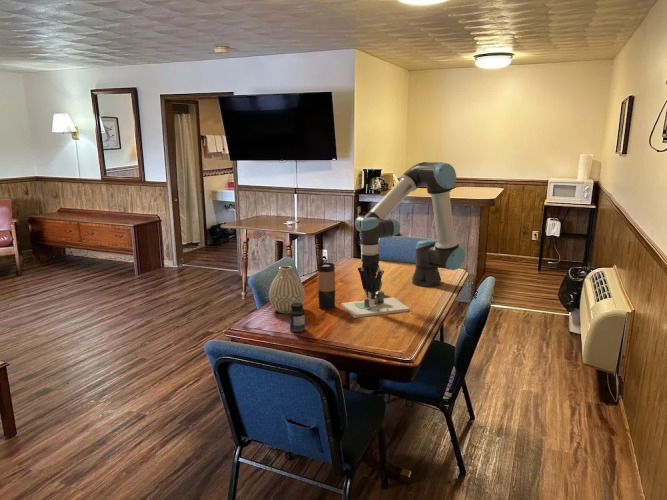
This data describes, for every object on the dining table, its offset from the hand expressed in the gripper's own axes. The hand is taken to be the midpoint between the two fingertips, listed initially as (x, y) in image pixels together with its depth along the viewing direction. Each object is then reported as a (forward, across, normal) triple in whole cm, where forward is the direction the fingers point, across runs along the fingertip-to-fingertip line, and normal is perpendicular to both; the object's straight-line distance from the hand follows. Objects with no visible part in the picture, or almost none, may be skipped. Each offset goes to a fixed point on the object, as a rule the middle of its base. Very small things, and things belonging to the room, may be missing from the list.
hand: (371, 305), depth 213 cm
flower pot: (+3, +14, -19) cm, 24 cm away
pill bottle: (+3, +9, +37) cm, 38 cm away
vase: (+2, +30, +23) cm, 38 cm away
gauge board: (+3, +1, -4) cm, 5 cm away
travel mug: (+2, +19, +9) cm, 21 cm away
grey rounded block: (+1, +1, -4) cm, 4 cm away
